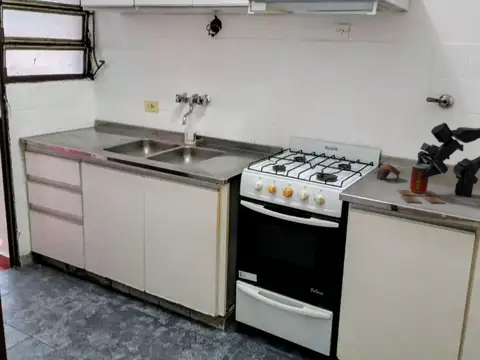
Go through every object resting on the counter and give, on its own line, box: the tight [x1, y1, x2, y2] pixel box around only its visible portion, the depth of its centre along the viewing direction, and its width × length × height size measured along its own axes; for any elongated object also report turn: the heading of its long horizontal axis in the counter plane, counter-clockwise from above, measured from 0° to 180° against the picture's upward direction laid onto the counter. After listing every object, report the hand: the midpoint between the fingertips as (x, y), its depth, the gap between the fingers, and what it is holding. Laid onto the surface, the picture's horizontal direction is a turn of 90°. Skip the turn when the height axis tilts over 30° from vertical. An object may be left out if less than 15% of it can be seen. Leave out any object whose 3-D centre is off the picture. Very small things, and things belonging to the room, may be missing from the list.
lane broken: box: [399, 195, 446, 205], centre depth 208 cm, size 16×7×1 cm, turn 95°
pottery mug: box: [376, 163, 401, 181], centre depth 238 cm, size 12×10×8 cm
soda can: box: [409, 163, 430, 194], centre depth 216 cm, size 7×7×12 cm
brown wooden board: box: [395, 189, 440, 198], centre depth 217 cm, size 16×7×1 cm, turn 95°
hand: (416, 175), depth 215 cm, fingers open, 9 cm apart
